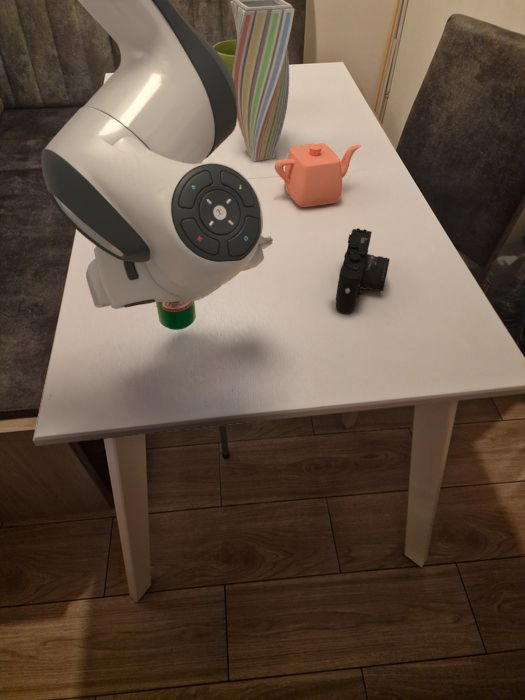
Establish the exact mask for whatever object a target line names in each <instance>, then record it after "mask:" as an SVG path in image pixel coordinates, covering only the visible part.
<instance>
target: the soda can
mask: <svg viewBox="0 0 525 700" xmlns="http://www.w3.org/2000/svg"><path fill="white" fill-rule="evenodd" d="M155 305H156V310H157V316H158V321H159V323H160V324H161V325H162V326H163V327H164V328H167V329H169V330H173V331H179V330H184V329H187V328H188V327H190V326H191V325H192V324H193V323H194V322H195V321H196V318H197V311H196V304H195V301H192V302H180V301H177V302H155Z"/></svg>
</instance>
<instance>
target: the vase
mask: <svg viewBox="0 0 525 700" xmlns="http://www.w3.org/2000/svg"><path fill="white" fill-rule="evenodd" d="M230 7H231V13H232V17H233V21H234V25H235V31H236V40H237V46H236V52H235V57H234V63H233V71H232V77H233V81H234V85H235V90H236V98H237V123H238V126H239V129H240V133H241V135H242V138H243V142H244V144H245V147H246V148H245V149H246V152H247V154H248V155H249V156H250V158H251V159H252V160H253V162H258V161H264V160H270V159H275V154H276V151H277V148H278V145H279V142H280V139H281V135H282V132H283V128H284V124H285V120H286V115H287V111H288V110H287V109H288V101H289V95H290V94H289V93H290V61H289V51H288V44H289V41H290V35H291V31H292V26H293V21H294V20H293V19H294V16H295V15H294V14H295V7H294V6H293V5H292V4H291V3H289V2H287V1H285V0H230Z"/></svg>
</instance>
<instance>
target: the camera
mask: <svg viewBox="0 0 525 700" xmlns="http://www.w3.org/2000/svg"><path fill="white" fill-rule="evenodd" d="M371 238H372V231H371V230H367V229H365V228H364V229H361V228H360V227H359V228H353V229H352V230H351V232H350V234H348V239H347V248H346V251H345V253H344V256H343V257H344V259H343V263H342V266H341V267H340V271H339V275H338V281H337V287H336V295H335V309H336V311H337V312H339V313H340V314H344V315H349V314H351V313H353V312H354V311H355V309H356V304H357V300H358V298H359V297H361V294H362V289H365V290H368V289H369V290H370V289H371V290H372V291H378V292H384V289H385V284H386V279H387V275H388V269H389V266H390V258H389V257H384V256H382V255H381V256H380V255H378V256H375V255H374V254H370V253H369V247H370V243H371Z"/></svg>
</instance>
